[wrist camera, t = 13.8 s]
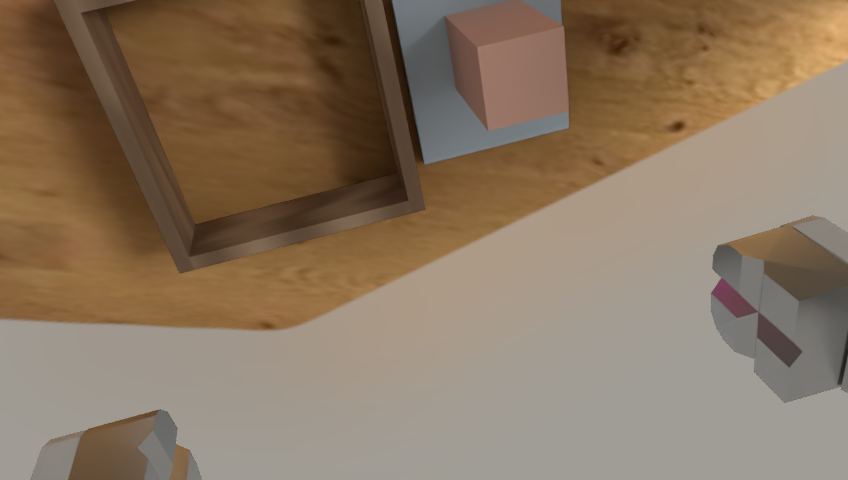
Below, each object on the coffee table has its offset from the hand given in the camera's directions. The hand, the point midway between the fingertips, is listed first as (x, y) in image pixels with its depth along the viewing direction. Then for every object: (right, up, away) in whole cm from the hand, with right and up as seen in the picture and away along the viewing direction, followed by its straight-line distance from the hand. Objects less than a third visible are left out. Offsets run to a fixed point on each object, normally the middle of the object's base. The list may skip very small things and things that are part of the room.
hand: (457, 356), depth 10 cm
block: (+4, +15, +35) cm, 38 cm away
